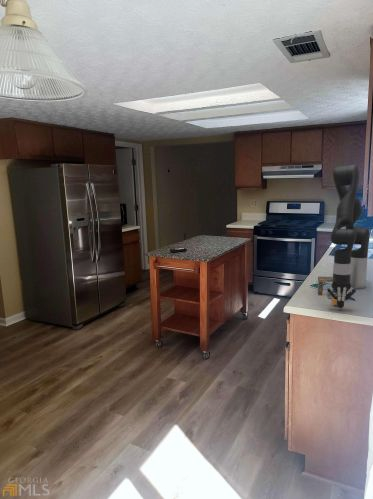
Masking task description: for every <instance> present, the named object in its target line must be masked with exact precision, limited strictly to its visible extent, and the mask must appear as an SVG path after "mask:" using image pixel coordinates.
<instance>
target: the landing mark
mask: <svg viewBox="0 0 373 499" xmlns="http://www.w3.org/2000/svg"><path fill="white" fill-rule="evenodd" d="M317 284H318V282H317V283H316V285H317ZM325 284H326V285H324V286H323V291H327V288H329V287H330V286H331V284H332V283H325ZM332 289H333V288H332Z"/></svg>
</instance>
